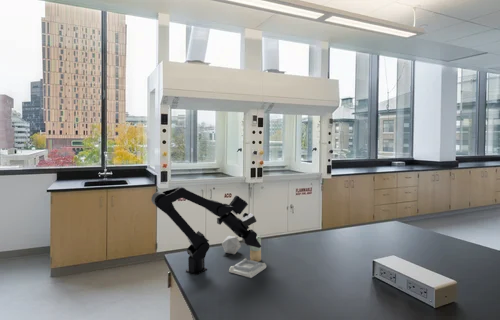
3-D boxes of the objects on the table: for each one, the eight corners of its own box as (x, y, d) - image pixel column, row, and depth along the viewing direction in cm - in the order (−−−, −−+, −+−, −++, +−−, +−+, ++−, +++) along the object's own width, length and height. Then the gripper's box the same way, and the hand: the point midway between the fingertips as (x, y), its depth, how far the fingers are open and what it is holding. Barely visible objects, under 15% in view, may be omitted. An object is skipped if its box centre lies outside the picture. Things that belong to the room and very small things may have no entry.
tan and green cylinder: (257, 262, 142) (257, 239, 142) (247, 260, 145) (247, 237, 144) (263, 259, 146) (262, 236, 146) (253, 257, 149) (253, 234, 148)
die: (243, 252, 157) (236, 234, 161) (241, 249, 150) (234, 230, 154) (228, 259, 157) (221, 240, 161) (225, 256, 149) (218, 237, 153)
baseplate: (251, 277, 127) (251, 272, 127) (228, 271, 133) (228, 266, 133) (266, 267, 137) (266, 262, 137) (244, 262, 143) (244, 257, 143)
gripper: (252, 213, 134) (276, 236, 138) (238, 204, 151) (260, 225, 156) (234, 233, 132) (259, 256, 136) (223, 222, 149) (245, 243, 154)
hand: (256, 243), depth 145 cm, fingers open, 9 cm apart
